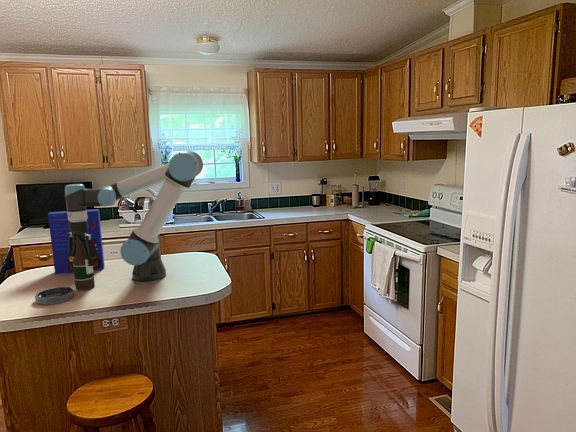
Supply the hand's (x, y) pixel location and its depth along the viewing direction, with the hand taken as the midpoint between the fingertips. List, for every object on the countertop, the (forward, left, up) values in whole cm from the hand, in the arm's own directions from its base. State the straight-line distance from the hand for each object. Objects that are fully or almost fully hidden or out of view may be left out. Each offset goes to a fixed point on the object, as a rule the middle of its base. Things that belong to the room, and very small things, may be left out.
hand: (83, 271), depth 185 cm
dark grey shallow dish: (+4, +14, -7) cm, 16 cm away
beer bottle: (0, 0, -7) cm, 7 cm away
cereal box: (+19, -24, -8) cm, 32 cm away
